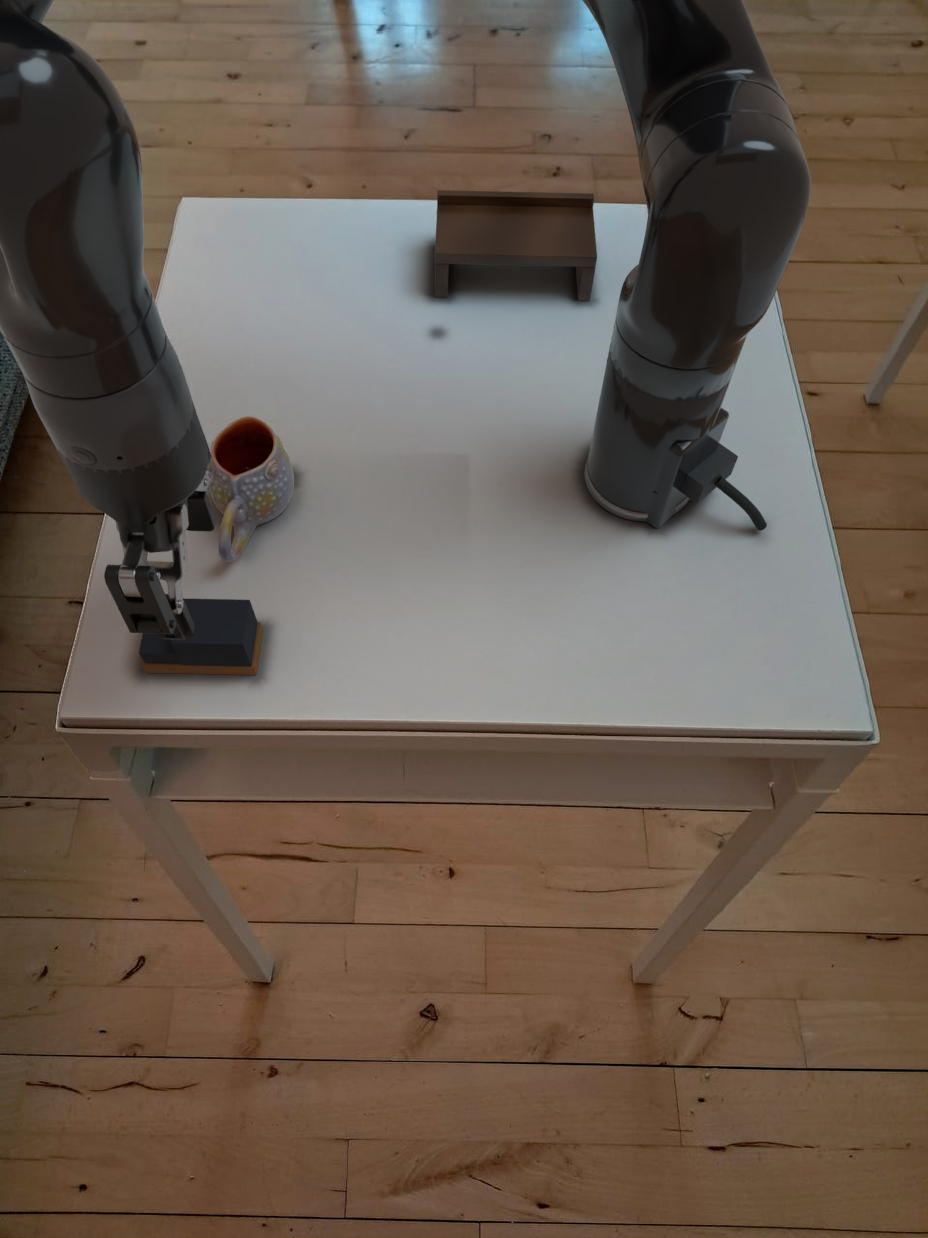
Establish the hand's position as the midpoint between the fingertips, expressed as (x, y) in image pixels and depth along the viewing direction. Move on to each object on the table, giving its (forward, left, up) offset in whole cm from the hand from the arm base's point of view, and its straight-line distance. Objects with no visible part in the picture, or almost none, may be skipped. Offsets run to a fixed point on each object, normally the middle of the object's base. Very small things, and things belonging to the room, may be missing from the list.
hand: (190, 577), depth 64 cm
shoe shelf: (+15, -47, -10) cm, 50 cm away
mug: (+8, -9, -10) cm, 16 cm away
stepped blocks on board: (+1, +1, -10) cm, 10 cm away
